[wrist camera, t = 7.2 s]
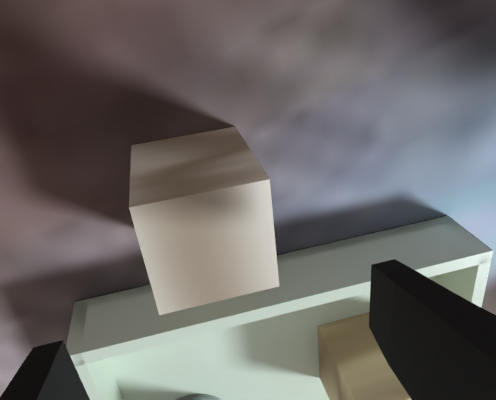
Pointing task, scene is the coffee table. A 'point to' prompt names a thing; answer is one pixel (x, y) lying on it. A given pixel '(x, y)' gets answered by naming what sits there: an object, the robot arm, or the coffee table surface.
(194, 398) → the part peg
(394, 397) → the part oak
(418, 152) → the coffee table surface
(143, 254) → the part birch
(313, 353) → the tray
